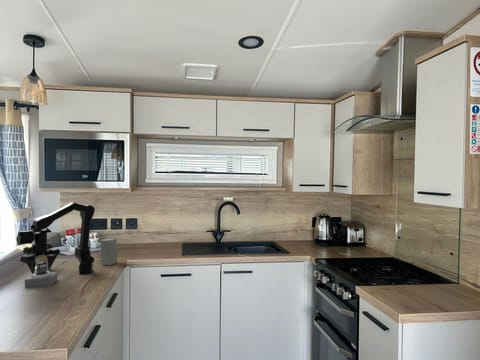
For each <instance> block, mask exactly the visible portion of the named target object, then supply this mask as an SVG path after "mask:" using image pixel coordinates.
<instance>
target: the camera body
mask: <svg viewBox="0 0 480 360" xmlns="http://www.w3.org/2000/svg"><path fill="white" fill-rule="evenodd" d="M56 281H58V273H57V272H54V271H53V272H51V271H50V270H46V274H42V275H37V272H34V274H32V273H31V275H29V276H28V277H27V278H25V279H24V288H33V287H49V286H53V284H54V283H56Z"/></svg>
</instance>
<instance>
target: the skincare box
mask: <svg viewBox="0 0 480 360" xmlns="http://www.w3.org/2000/svg"><path fill="white" fill-rule="evenodd" d="M117 251H118V250H117V238H106V239H105V238H103V239H102V240H100V263H101V266H111V265H115V263H118V258H117V257H118V255H117Z"/></svg>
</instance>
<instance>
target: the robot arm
mask: <svg viewBox="0 0 480 360" xmlns="http://www.w3.org/2000/svg"><path fill="white" fill-rule="evenodd" d="M95 209H96V208H95V206H93V205H90V204H81V203H78V202H72V201H71V202H68V204H66V205H64V206H63V207H61V208H59V209H57V210H54V211H53V212H51V213H49V214H45V215H42V216H39V217H36V218H34V219H33V221H32V224H31V226H30V227H29V228H28V230H24V231H23V230H21V231H17V235H16V237H15V240H16V244H17V246H22V245H30V244H32V245H31V247H29V246H26V247H23V251H22V253H23V254H24V255H22V256H20V259H19V260H20V262H21V263H23V264H26V265H27V266H28V269H29V271H30V272H31V275H32V274H34V273H36V272H35V271H36V263H37V258H39V257H42V256H46V257H47V259H48V269H49V270H50V269H51V268H52V266H53V264H54V262H55V261H56V258H57V257H59V255H60V254H61V250H60V249H59V248H54V247H53V248H52V249H48V250H47V245H49V244H50V243H49V242H48V233H52V230H50V229H49V228H48V227H50V226H51V225H52V224H53V223H54V222H55V221H56V220H59V219H60V218H62V217H64V216H66V215H67V214H69V213H71V212H73V211H76V212H79V216H80V218H81V225H80V236H79V244H78V246H77V247H75V248H74V252H73V253H74V257H75V258H76V259H77V260H78V262H79V265H78V274H79V275H87V274H92V273H94V270H95V269H94V268H93V265H94V264H93V263H94V262H95V257H94V256H92V255H91V249H90V246H89V242H90V240H89V239H90V232H91V231H90V229H91V222H92V219H93V217H94V215H95V211H96V210H95ZM43 254H44V255H43ZM39 255H40V256H39Z"/></svg>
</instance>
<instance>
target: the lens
mask: <svg viewBox="0 0 480 360" xmlns="http://www.w3.org/2000/svg"><path fill="white" fill-rule="evenodd" d="M35 271H36V272H37V275H42V274H46V271H47V270H46V262H38V263H37V262H36V266H35ZM36 272H35V273H36Z"/></svg>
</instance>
